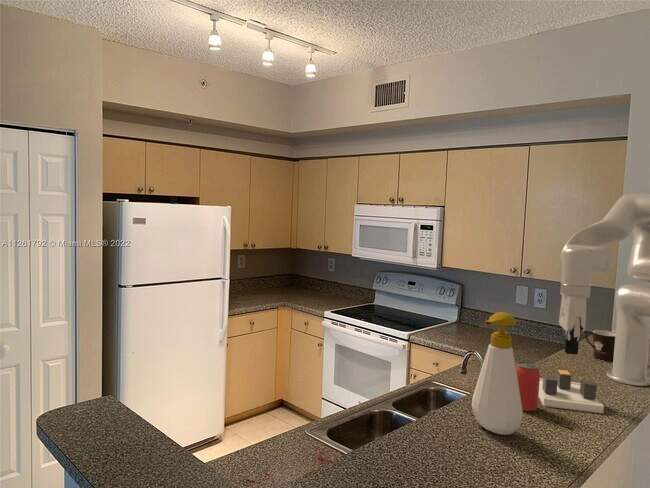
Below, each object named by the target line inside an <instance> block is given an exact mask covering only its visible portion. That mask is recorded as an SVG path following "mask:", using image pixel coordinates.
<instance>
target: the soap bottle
mask: <svg viewBox="0 0 650 488" xmlns="http://www.w3.org/2000/svg"><path fill="white" fill-rule="evenodd" d="M484 325H487V326H493V327H494V326H498V331H493V333H491V334H490V344H488V347H487V350H486V354H485V357H484V360H483V363H482V366H481V368H480V373H479V376H478V379H477V382H476V386H475V388H474V392H473V395H472V398H471V399H472V400H471V408H472V412H473V414H474V417H475V419H476V421H477V422H478V425H480V426H481V427H483V428H484V429H485V430H487V431H489V432H490V431H491V433H493V434H496V435H499V436H500V435H501V436H507V435H512V434H514V433H515V432H516V431H517V430H518V429H519V428H520V425H521V423H522V422H523V415H524V414H523V413H524V411H522V405H521V398H520V392H519V386H518V379H517V373H516V362H515V356H514V355H515V354H514V349H513V347H512V341H513V337H512V336H511V334H510V333H509V332H507V331H506V326H515V325H517V320H516V318H515V317H513V315H511V314H509V313H508V312H504V311H500V312H495V313H494V314H492V315H491V316H490V317H489V318H488V319H487V320H484Z"/></svg>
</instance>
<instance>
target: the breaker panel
mask: <svg viewBox="0 0 650 488" xmlns="http://www.w3.org/2000/svg"><path fill="white" fill-rule="evenodd" d="M556 378H557V377H556V376H555V375H548V374H543V376H542V378H541V377H540V382H539V395H538V399H539V400H540V402H541V404H542V406H544V407H548V408H549V407H550V408H557V409H565V410H572V411H573V410H574V411H580V412H589V413H597V414H604V411H605V410H604V409H605V406H604V404H603V403H602V402H601V401H600V400H599V399H598V397H597V395H596V394H597V383H595V382H594V380H592V379H591V380H590V379H580V382H575V381H571V387H570V389H564V388H559V387H558V385H557V382H558V381H557V379H556Z"/></svg>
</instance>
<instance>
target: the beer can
mask: <svg viewBox="0 0 650 488" xmlns="http://www.w3.org/2000/svg"><path fill="white" fill-rule="evenodd" d="M515 367H516V373H517V379H518V386H519V392H520V398H521V405H522V411H523V412H536V411H537V409H538V405H539V396H538V395H539V382H540V378H541V373H540V370H539V365H538V364H536V363H533V362H528V361H517V362H516V364H515Z"/></svg>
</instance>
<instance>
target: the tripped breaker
mask: <svg viewBox="0 0 650 488" xmlns="http://www.w3.org/2000/svg"><path fill="white" fill-rule="evenodd" d="M555 378H556V379H557V381H558V382H557V385H558V387H559V388H564V389H570V387H571V382H572V375H571V373H570V372H569V371H568V370H563V369H557V370H556V377H555Z"/></svg>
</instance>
